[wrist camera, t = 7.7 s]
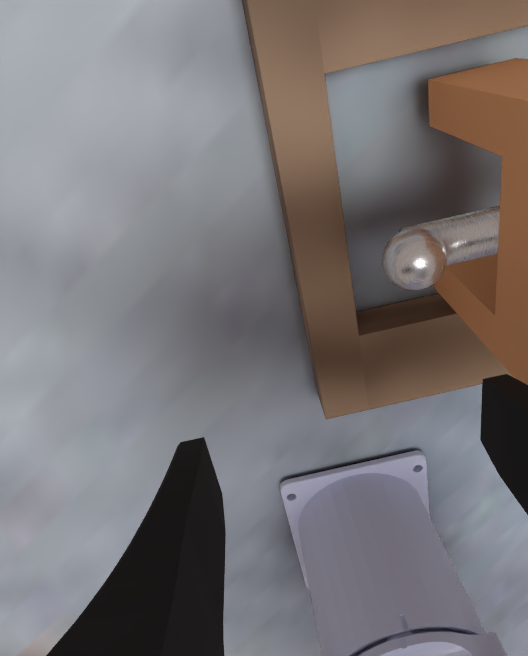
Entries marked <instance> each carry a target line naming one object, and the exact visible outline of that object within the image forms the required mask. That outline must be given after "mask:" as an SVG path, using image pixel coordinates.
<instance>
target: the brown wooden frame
mask: <svg viewBox="0 0 528 656" xmlns="http://www.w3.org/2000/svg"><path fill="white" fill-rule="evenodd" d="M242 3H243V8H244V13H245V18H246V24H247V29H248V34H249V39H250V44H251V50H252V55H253V60H254V65H255V70H256V76H257V81H258V86H259V91H260V96H261V102H262V107H263V112H264V117H265V122H266V128H267V133H268V138H269V143H270V148H271V154H272V159H273V164H274V169H275V174H276V180H277V185H278V190H279V195H280V200H281V206H282V211H283V216H284V221H285V226H286V232H287V237H288V242H289V247H290V252H291V258H292V263H293V268H294V273H295V278H296V284H297V289H298V294H299V299H300V304H301V310H302V315H303V320H304V325H305V330H306V336H307V341H308V346H309V351H310V356H311V362H312V367H313V372H314V377H315V382H316V388H317V393H318V396H319V399H320V402H321V405H322V409H323V412H324V415H325V418H326V419H330V418H334V417H338V416H343V415H347V414H352V413H356V412H360V411H365V410H369V409H374V408H378V407H382V406H387V405H391V404H396V403H400V402H404V401H409V400H413V399H418V398H422V397H426V396H431V395H435V394H440V393H444V392H448V391H453V390H457V389H462V388H466V387H470V386H475V385H479V384H483V379H485V378H489V377H494V376H499V375H504V374H508V375H510V376H512V377H514V376H513V375H512V374H511V373H510V372H509V371H508V370H507V369H506V368H505V366H504V365H503V364H502V363H501V362H500V361H499V360H498V359H497V357H496V356H495V355H494V354H493V353H492V352H491V351H490V350H489V349H488V347H487V346H486V345H485V344H484V343H483V342H482V341H481V340H480V339H479V337H478V336H477V335H476V334H475V333H474V332H473V331H472V330H471V328H470V327H469V326H468V325H467V324H466V323H465V322H464V321H463V320H462V318H461V317H460V316H459V315H458V314H457V313H456V312H455V311H454V310H453V308H452V307H451V306H450V305H449V304H448V303H447V302H446V301H445V300H444V298H443V297H442V296H441V295H440V294H439V293H438V294H433V295H429V296H425V297H420V298H416V299H412V300H407V301H403V302H399V303H394V304H390V305H386V306H381V307H377V308H373V309H368V310H364V311H360V312H356V310H355V302H354V295H353V287H352V279H351V272H350V264H349V257H348V249H347V241H346V234H345V226H344V219H343V211H342V203H341V196H340V188H339V181H338V173H337V165H336V158H335V150H334V143H333V135H332V128H331V120H330V112H329V105H328V97H327V90H326V82H325V73H329V72H334V71H338V70H342V69H346V68H350V67H355V66H359V65H363V64H367V63H371V62H376V61H380V60H384V59H388V58H392V57H397V56H401V55H405V54H409V53H413V52H418V51H422V50H426V49H430V48H434V47H439V46H443V45H447V44H451V43H455V42H460V41H464V40H468V39H472V38H476V37H481V36H485V35H489V34H493V33H497V32H502V31H506V30H510V29H514V28H518V27H523V26H527V25H528V0H242Z"/></svg>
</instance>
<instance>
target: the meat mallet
mask: <svg viewBox="0 0 528 656" xmlns="http://www.w3.org/2000/svg"><path fill="white" fill-rule="evenodd" d="M499 218H500V206H496V207H491V208H487V209H483V210H478V211H474V212H470V213H466V214H461V215H457V216H453V217H448V218H444V219H440V220H435V221H431V222H427V223H423V224H418V225H414V226H410V227H405V228H401V229H400V230H399V233H398V234H396V235H395V236H394V237H393V238H392V239H391V240H390V241H389V242H388V244H387V245H386V247H385V250H384V253H383V259H382V262H383V268H384V271H385V274H386V276H387V277H388V279H389V280H390V281H391V282H392V283H393V284H395V285H396V286H398V287H400V288H402V289H405V290H411V291H415V290H422V289H425V288H428V287H430V286H431V285H433V284H434V283H435V282H437V281H438V280H439V279H440V277H441V276H442V274H443V273H444V271H445V268H446V266H447V265H451V264H456V263H460V262H464V261H469V260H473V259H477V258H482V257H486V256H490V255H495V254H498V241H499Z"/></svg>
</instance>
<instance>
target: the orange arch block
mask: <svg viewBox="0 0 528 656" xmlns="http://www.w3.org/2000/svg"><path fill="white" fill-rule="evenodd" d="M428 95H429V126H431V127H433V128H436V129H438V130H440V131H443V132H445V133H447V134H450V135H452V136H455V137H457V138H459V139H462V140H464V141H466V142H469V143H471V144H474V145H476V146H478V147H481V148H483V149H485V150H488V151H490V152H493V153H495V154H497V155H500V156H502V175H501V197H500V218H499V241H498V254H495V255H490V256H486V257H482V258H477V259H473V260H469V261H464V262H460V263H456V264H451V265H447V266H446V268H445V271H444V273H443V274H442V276H441V277H440V279H439V280H438V281H437V282H435V283H434V288H435V289H436V291H437V292H438V293H439V294H440V295H441V296H442V297H443V298H444V300H445V301H446V302H447V303H448V304H449V305H450V306H451V307H452V308H453V310H454V311H455V312H456V313H457V314H458V315H459V316H460V317H461V318H462V320H463V321H464V322H465V323H466V324H467V325H468V326H469V327H470V328H471V330H472V331H473V332H474V333H475V334H476V335H477V336H478V337H479V339H480V340H481V341H482V342H483V343H484V344H485V345H486V346H487V347H488V349H489V350H490V351H491V352H492V353H493V354H494V355H495V356H496V357H497V359H498V360H499V361H500V362H501V363H502V364H503V365H504V366H505V368H506V369H507V370H508V371H509V372H510V373H511V374H512V375H513V376H514V378H516V379H518V380H519V381H521V382H523V383H525V384H527V385H528V59H518V58H515V59H511V60H507V61H503V62H498V63H494V64H490V65H486V66H482V67H477V68H473V69H469V70H465V71H461V72H457V73H452V74H448V75H444V76H440V77H436V78H431V79H428Z"/></svg>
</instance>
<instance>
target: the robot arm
mask: <svg viewBox="0 0 528 656" xmlns="http://www.w3.org/2000/svg"><path fill="white" fill-rule="evenodd" d="M481 442H482V444H483V445H484V447H485V449H486V451H487V453H488V455H489V457H490V459H491V461H492V463H493V464H494V466H495V468H496V470H497V472H498V473H499V475H500V476H501V478H502V479H503V481H504V482H505V484H506V485H507V487H508V488H509V489H510V491H511V492H512V494H513V495H514V496H515V498H516V499H517V501H518V502H519V503H520V505H521V506H522V508H523V509H524V510H525V512H526V513H527V514H528V385H527V384H525V383H523V382H521V381H519V380H518V379H516V378H514V377H512V376H510V375H508V374H504V375H499V376H494V377H489V378H485V379H483V385H482V413H481ZM417 465H418V466H417ZM415 466H417V467H415ZM280 492H281V496H282V499H283V503H284V507H285V510H286V514H287V518H288V521H289V525H290V529H291V532H292V536H293V540H294V543H295V547H296V551H297V554H298V558H299V562H300V565H301V569H302V573H303V576H304V580H305V584H306V587H307V588H308V589H310V595H311V600H312V605H313V611H314V616H315V621H316V627H317V632H318V637H319V642H320V648H321V653H322V656H507V654H506V652H505V650H504V648H503V646H502V644H501V642H500V640H499V638H498V636H497V634H496V633H495V632H491V633H485V631H484V629H483V627H482V625H481V623H480V621H479V618H478V616H477V614H476V612H475V610H474V608H473V606H472V604H471V602H470V600H469V598H468V596H467V593H466V591H465V589H464V587H463V585H462V583H461V581H460V579H459V577H458V575H457V573H456V570H455V568H454V566H453V564H452V562H451V560H450V558H449V556H448V554H447V552H446V550H445V547H444V545H443V543H442V541H441V539H440V537H439V535H438V533H437V531H436V529H435V527H434V525H433V522H432V520H431V518H430V512H429V496H428V480H427V464H426V457H425V455H424V454H423V452H421V451H411V452H407V453H402V454H398V455H394V456H389V457H385V458H380V459H376V460H371V461H367V462H363V463H358V464H354V465H349V466H345V467H340V468H336V469H332V470H327V471H323V472H318V473H314V474H309V475H305V476H301V477H296V478H292V479H287V480H285V481H283V482H282V483H281V484H280ZM289 494H292V495H289ZM224 572H225V520H224V508H223V498H222V492H221V489H220V486H219V482H218V479H217V476H216V473H215V470H214V467H213V464H212V461H211V458H210V454H209V451H208V448H207V445H206V442H205V439H204V437H203V438H199V439H194V440H189V441H184V442H180V444H179V445H178V447H177V449H176V451H175V454H174V456H173V459H172V461H171V464H170V466H169V468H168V471H167V473H166V475H165V477H164V479H163V482H162V484H161V486H160V488H159V490H158V492H157V494H156V496H155V498H154V500H153V502H152V504H151V506H150V508H149V510H148V512H147V514H146V516H145V518H144V520H143V521H142V523H141V525H140V527H139V528H138V530H137V532H136V534H135V536H134V537H133V539H132V541H131V543H130V544H129V546H128V548H127V549H126V551H125V552H124V554H123V556H122V557H121V559H120V560H119V562H118V564H117V565H116V567H115V568H114V570H113V571H112V572H111V574H110V575H109V577H108V578H107V580H106V581H105V583H104V584H103V586H102V587H101V588H100V590H99V591H98V592H97V594H96V595H95V596H94V598H93V599H92V600H91V602H90V603H89V605H88V606H87V607H86V609H85V610H84V611H83V612H82V614H81V615H80V616H79V618H78V619H77V620H76V621H75V623H74V624H73V625H72V626H71V627H70V629H69V630H68V631H67V632H66V633H65V634H64V636H63V637H62V638H61V639H60V640H59V641H58V643H57V644H56V645H55V646H54V647H53V648H52V650H51V651H50V652H49V653H48V654H47V655H46V656H224V644H223V607H224Z"/></svg>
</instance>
